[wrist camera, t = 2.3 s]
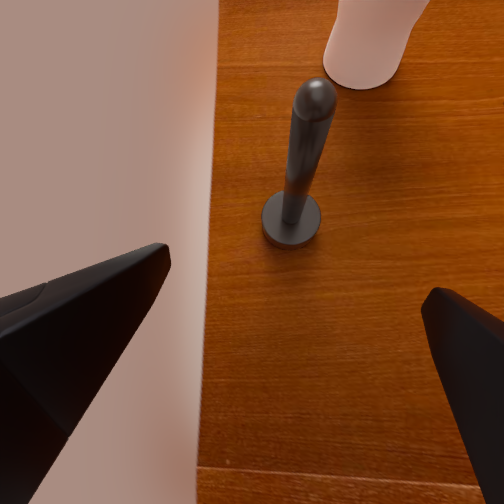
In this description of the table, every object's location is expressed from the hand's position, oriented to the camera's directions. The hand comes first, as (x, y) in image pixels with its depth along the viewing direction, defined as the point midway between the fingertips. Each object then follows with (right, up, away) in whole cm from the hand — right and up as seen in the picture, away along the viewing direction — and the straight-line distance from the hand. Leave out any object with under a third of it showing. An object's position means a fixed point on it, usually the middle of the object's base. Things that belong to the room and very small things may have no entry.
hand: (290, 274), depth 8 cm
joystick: (+2, +3, +14) cm, 14 cm away
